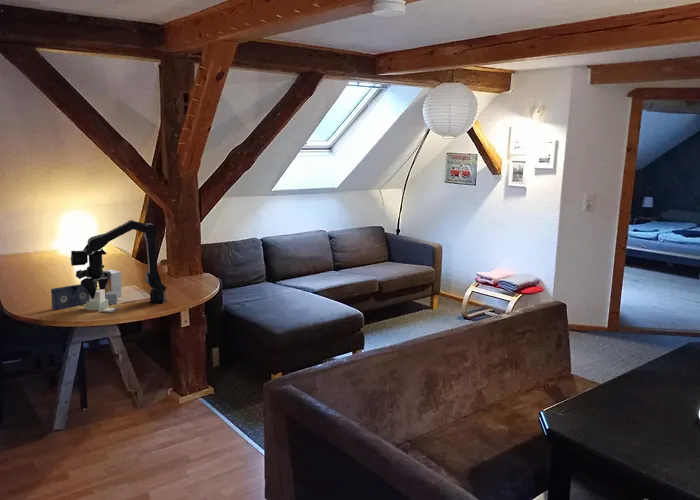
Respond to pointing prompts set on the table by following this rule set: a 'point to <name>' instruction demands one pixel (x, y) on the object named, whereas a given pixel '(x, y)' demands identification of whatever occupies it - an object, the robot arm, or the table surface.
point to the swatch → (109, 310)
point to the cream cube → (98, 296)
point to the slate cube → (112, 297)
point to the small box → (114, 282)
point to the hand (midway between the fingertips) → (97, 296)
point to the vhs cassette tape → (69, 296)
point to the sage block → (97, 305)
